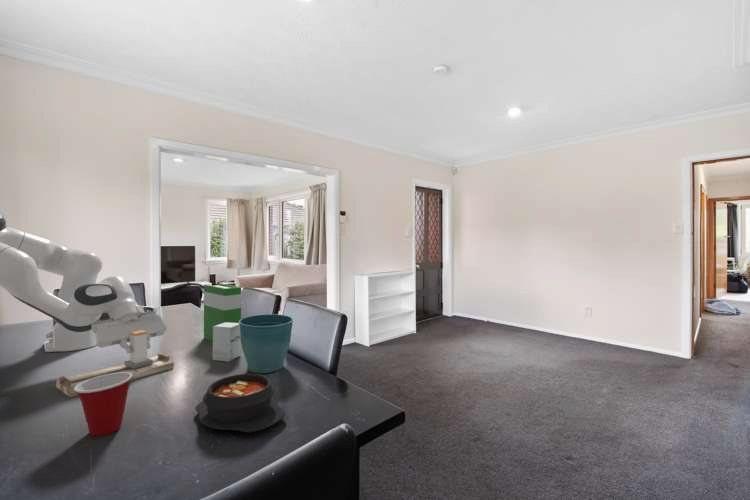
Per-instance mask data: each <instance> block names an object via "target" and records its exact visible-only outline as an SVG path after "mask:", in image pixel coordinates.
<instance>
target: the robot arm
mask: <svg viewBox="0 0 750 500" xmlns="http://www.w3.org/2000/svg"><path fill="white" fill-rule="evenodd" d="M6 224H7V221H6V219H5V217H4V216H3V215H2V214H0V287H1V288H2V289H4V290H6V291H7V292H8V293H10V295H11V296H12V297H13V298H15V299H16V300H18V301H19V302H22V303H23V304H25V305H26V306H29V307H30V308H33V309H35V310H37V311H38V312H40V313H41V314H44V315H46V316H48V317H49V318H51V319H53V320H55V325H54V326H53V327H52V329H51V331H48V332H46V333H45V337H46V339H48V340H46V341H44V342H43V347H44V351H45V353H51V352H71V351H79V350H84V349H88V348H92V347H94V346H95V347H96V346H97V347H99V348H101V349H102V348H106V347H110V346H115V345H119V346H120V348H122V349H124V351H125V352H126V353H127V354H130V353H132V352H133V351H134V348H133V346H130V344H128V343H130V332H133V331H138V330H144V331H147V350H149V349H150V348H151V343H150V341H151V338H154V337H155V338H157V337H160V336H161V337H162V336H163V335H164V334H165V333H166V331H167V325H166V323H165V321H164V319H163V317H162V316H161V315H160V313H157V311H158V310H157V308H156V307H154V306H144V305H140V304H138V302H137V301H136V297H135V294H134V291H133V289H132V287H131V286H130V284H129V283H128V281H127V280H126V279H124V278H123V277H121V276H110V277H106V278H103V280H101V281H100V282H97V280H98V275H99V274H100V272H101V271H102V268H103V262H102V260H101V258H100V257H99V256H98V255H97V254H95V253H93V252H90V251H88V250H79V249H72V248H68V247H66V246H63V245H61V244H58V243H55V242H54V241H52V240H49V239H47V238H44V237H41V236H38V235H35V234H31V233H29V232H26V231H24V230H20V229H17V228H14V227H10V226H7V225H6ZM38 269H39V270H41V271H44V272H48V273H51V274H54V275H58V276H61V277H63V278H62V282H61V285H60V289H59V291H58V292H57V295H55V294H52V293H50V292H49V291H47V290H46V289H45V287H44V286H43V285H42V283H41V280H40V276H39V271H38ZM103 313H107V314H108V316H109V318H108V319H107V318H106V319H103V320H102V319H101V317H102V314H103Z"/></svg>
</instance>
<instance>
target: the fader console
mask: <svg viewBox="0 0 750 500" xmlns="http://www.w3.org/2000/svg"><path fill="white" fill-rule="evenodd" d="M147 358H148V359H151V360H153V364H150V365H146V366H142V367H138V368H135V369H131V368H129V367H127V366H125V365H124V363H122V364H115V365H113V366H109V367H105V368H100V369H96V370H93V371H89V372H84V373H80V374H79V373H78V374H76V375H72V376H68V377H65V376H59V377H58V379H56V380H55V387H56V389H57V390H59V391H61V392H62V393H63V394H65V395H66V396H67V397H68V398H73V397H79V395H78V394H77V392H75V390H74V388H75V386H77V385H78V384H79V383H81V382H84V381H86V380H88V379H91V378H94V377H98V376H102V375H106V374H111V373H118V372H129V373H132V378H131V380H130V381H134V380H136V379H140V378H143V377H148V376H151V375H154V374H157V373H161V372H165V371H168V370H171V369H174V368H175V366H174V365H175V362H174V361H172V360H170V355H168V354H166V353H162V352H159V353H157V355H152V356H149V357H148V356H147Z"/></svg>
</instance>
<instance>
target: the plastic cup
mask: <svg viewBox="0 0 750 500" xmlns="http://www.w3.org/2000/svg"><path fill="white" fill-rule="evenodd" d="M131 378H132V373H129V372H118V373H111V374H106V375H102V376H98V377H94V378H91V379H88V380H86V381H84V382H81V383H79V384H78V385H77V386H75V388H74V390H75V392H77V394H78V397H79V399H80V401H81V405H82V409H83V413H84V417H85V422H86V423H87V428H88V433H89V434H90V436H91V437H97V438H98V437H104V436H108V435H111V434H114V433H115V432H117V431H119V430H120V429H121V427H122V423H123V419H124V413H125V411H126V403H127V398H128V392H129V389H130V388H129V387H130V383H131V381H132V380H131Z"/></svg>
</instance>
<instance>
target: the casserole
mask: <svg viewBox="0 0 750 500" xmlns="http://www.w3.org/2000/svg"><path fill="white" fill-rule="evenodd" d="M275 391H276V389H275V386H274V385H273V383H272V381H271V378H269V377H267V376H265V375H264V374H263V375H262V374H259V373H242V374H241V373H240V374H234V375H230V376H226V377H223V378H220V379H217V380H216V381H213V382H212V383H211V384H210V385H209V386H208V388H207V390H206V392H205V393H204V394H203V397H202V401H200V402H199V403H197V404H196V406H195V411H196V412H197V413H198V419H199V422H200V423H201V424H202V425H204V426H205V427H208V428H210V429H214V430H215V429H216V430H219V431H220V430H223V431H237V432H244V433H254V432H258V431H262V430H265V429H268V428H269V427H271V426H273V425H275V424H277V423H278V422H280V421H281V420H282V419H283V418H284V417H285V415H286V411H285V410H284V409H283V408H282V407H281V406H280V405H279V403H278V402H277V399H275V398H274V397H273V395H274V393H275Z"/></svg>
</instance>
